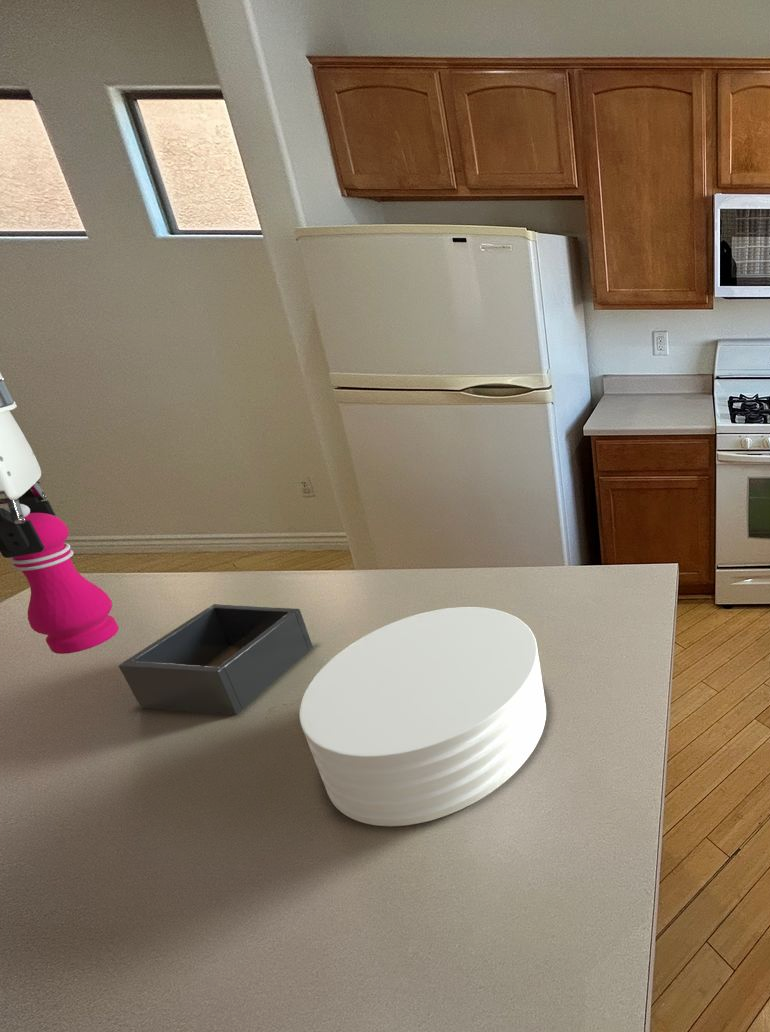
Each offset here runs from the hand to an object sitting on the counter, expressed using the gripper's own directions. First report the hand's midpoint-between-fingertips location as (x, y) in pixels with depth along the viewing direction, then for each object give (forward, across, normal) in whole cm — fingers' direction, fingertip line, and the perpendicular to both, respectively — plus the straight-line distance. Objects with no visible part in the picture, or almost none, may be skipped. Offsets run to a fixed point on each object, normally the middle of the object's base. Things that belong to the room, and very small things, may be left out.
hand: (34, 541), depth 68 cm
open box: (+29, -2, +12) cm, 31 cm away
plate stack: (+29, +29, +36) cm, 55 cm away
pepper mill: (+15, 0, 0) cm, 15 cm away
